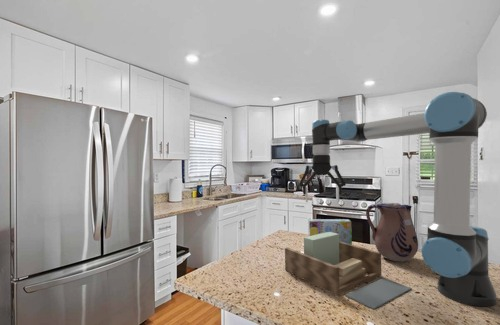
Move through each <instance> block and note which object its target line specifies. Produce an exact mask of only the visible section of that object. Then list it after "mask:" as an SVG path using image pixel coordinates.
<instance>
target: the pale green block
mask: <svg viewBox="0 0 500 325" xmlns="http://www.w3.org/2000/svg"><path fill="white" fill-rule="evenodd" d="M303 254H306V255H309V256H311V257H314V258H316V259H319V260H322V261H324V262H327V263H329V264H332V265H336V264H339V263H340V262H339V234H337V233H333V232H326V233H322V234H317V235H312V236H305V237H303Z"/></svg>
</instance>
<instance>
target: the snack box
mask: <svg viewBox="0 0 500 325" xmlns="http://www.w3.org/2000/svg"><path fill="white" fill-rule="evenodd" d="M307 221H308V222H307V224H308V225H307V227H308V228H307V229H308V231H307V232H308V236H312V235H317V234H322V233H326V232H333V233H337V234H339V241H341V242H344V243H348V244H351V245H353V242H352V240H353V238H352V236H353V235H352V234H353V233H352V221H351V220H350V219H344V218H343V219H341V218H339V219H338V218H335V219H332V218H331V219H328V218H327V219H323V218H322V219H321V218H317V219H315V218H313V219H312V218H311V219H310V218H309V219H308V220H307ZM308 236H307V237H308Z"/></svg>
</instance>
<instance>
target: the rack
mask: <svg viewBox="0 0 500 325" xmlns="http://www.w3.org/2000/svg"><path fill="white" fill-rule="evenodd" d="M351 258H354V259H358V260H361V261H362V268H365V273H366V274H368V275H366V276H365V277H363V278H360V279H358V280H355V281H353V282H350V283H348V284H345V285H343V286H341V287H339V267H337V266H335V265H332V264H329V263H327V262H324V261H322V260H319V259H316V258H314V257H311V256H309V255H306V254H304V252H301V251H298V250H295V249H292V248H290V247H285V248H284V264H285V265H284V266H285V268H284V270H285V271H287V272H289V273H291V274H293V275H294V276H297V277H299V278H301V279H303V280H305V281H307V282H308V283H311V284H313V285H315V286H317V287H319V288H321V289H322V290H323V289H324V291H326V292H329V293H331V294H333V295H335V296H338V295H341V294H343V293H345V292H348V291H349V290H352V289H354V288H356V287H359V286H362V285H364V284H366V283H369V282H370V281H373V280H375V279H377V278H380V277H382V255H381V253H380V252H378V251H376V250H372V249H369V248H365V247H362V246H358V245H354V244H352V245H351V244H348V243H344V242H341V241H339V263H341V262H344V261H346V260H349V259H351Z"/></svg>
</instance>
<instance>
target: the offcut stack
mask: <svg viewBox="0 0 500 325" xmlns="http://www.w3.org/2000/svg"><path fill="white" fill-rule="evenodd" d="M335 266H337V267H339V287H341V286H343V285H345V284H348V283H350V282H353V281H355V280H358V279H360V278H363V277H365V276H367V275H366V274H367V272H365V268H362V261H361V260H358V259H354V258H351V259H349V260H346V261H344V262H341V263H340V262H339V264H336V265H335Z"/></svg>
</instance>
